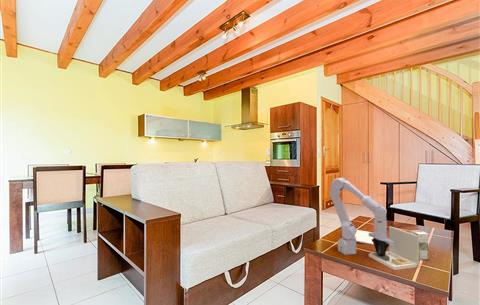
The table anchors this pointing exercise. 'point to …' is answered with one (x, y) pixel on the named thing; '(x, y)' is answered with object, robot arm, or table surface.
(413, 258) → the equipment case
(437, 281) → the table surface
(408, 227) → the table surface
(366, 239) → the plate
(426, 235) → the syrup box
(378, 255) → the rod
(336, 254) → the table surface
